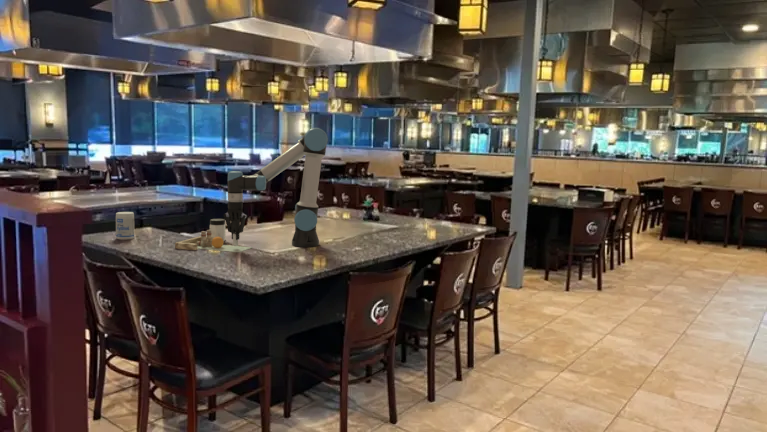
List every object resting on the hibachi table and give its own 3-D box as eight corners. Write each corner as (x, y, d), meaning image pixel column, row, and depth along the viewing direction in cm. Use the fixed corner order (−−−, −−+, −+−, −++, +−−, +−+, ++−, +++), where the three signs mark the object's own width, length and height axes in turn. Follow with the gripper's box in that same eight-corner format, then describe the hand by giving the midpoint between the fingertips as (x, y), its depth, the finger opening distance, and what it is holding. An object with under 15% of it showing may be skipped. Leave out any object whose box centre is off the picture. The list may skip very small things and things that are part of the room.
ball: (213, 241, 307) (221, 248, 306) (207, 244, 301) (216, 251, 301) (218, 233, 305) (227, 240, 305) (213, 236, 299) (222, 243, 299)
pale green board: (252, 247, 306) (252, 247, 306) (238, 252, 293) (238, 252, 293) (200, 243, 315) (200, 242, 315) (184, 247, 302) (184, 247, 302)
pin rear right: (212, 245, 309) (212, 230, 308) (209, 246, 307) (209, 230, 306) (208, 245, 310) (208, 229, 309) (205, 245, 308) (205, 230, 306)
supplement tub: (115, 240, 316) (114, 214, 314) (116, 237, 325) (115, 211, 323) (134, 239, 320) (134, 213, 318) (134, 236, 329) (134, 211, 327)
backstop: (218, 243, 316) (218, 237, 316) (195, 250, 295) (195, 244, 295) (199, 241, 320) (199, 236, 319) (175, 248, 299) (175, 242, 298)
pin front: (213, 242, 307) (198, 241, 309) (210, 242, 304) (196, 241, 306) (212, 247, 306) (198, 245, 308) (210, 246, 304) (195, 245, 306)
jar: (212, 242, 319) (211, 221, 317) (207, 240, 325) (207, 219, 324) (227, 241, 323) (227, 220, 322) (223, 238, 330) (223, 218, 329)
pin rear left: (207, 247, 304) (206, 231, 303) (204, 247, 302) (204, 232, 301) (203, 246, 305) (202, 231, 304) (200, 247, 303) (200, 231, 302)
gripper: (220, 201, 296) (220, 245, 299) (242, 202, 293) (242, 247, 296) (228, 199, 303) (228, 243, 306) (250, 201, 300) (250, 245, 303)
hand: (235, 245), depth 301 cm, fingers closed
